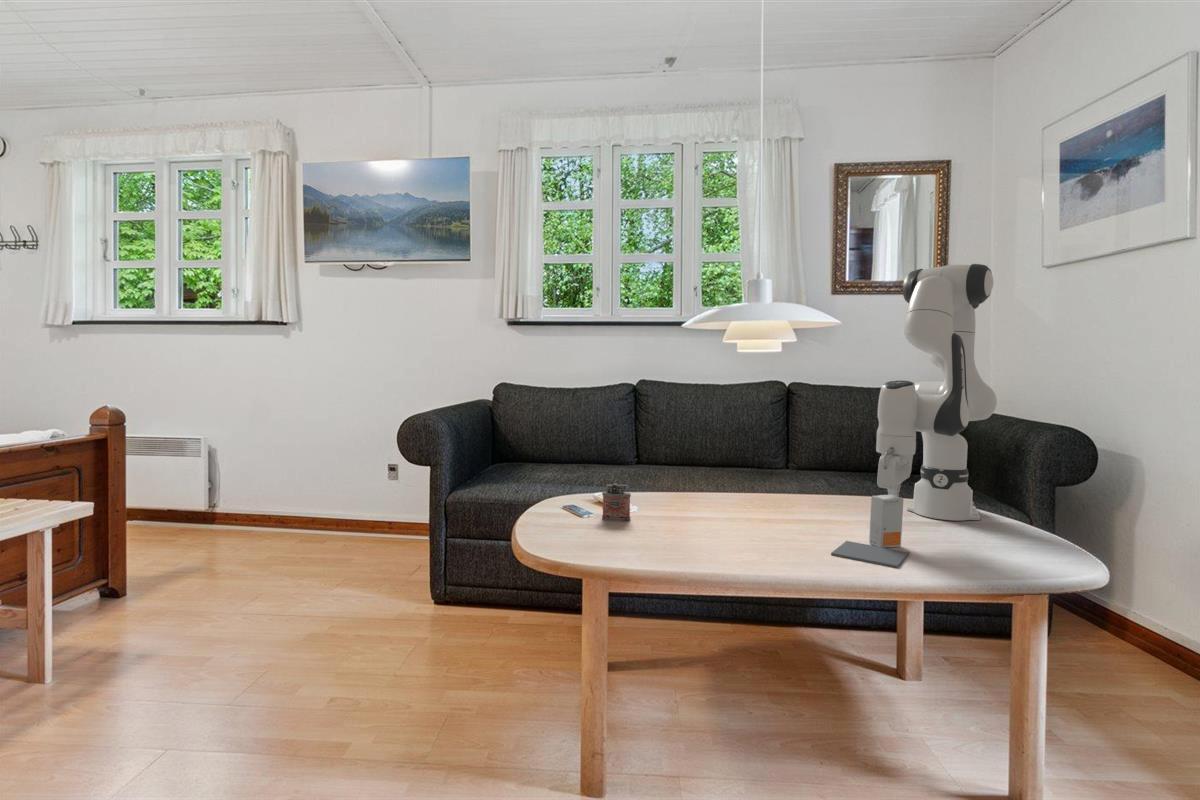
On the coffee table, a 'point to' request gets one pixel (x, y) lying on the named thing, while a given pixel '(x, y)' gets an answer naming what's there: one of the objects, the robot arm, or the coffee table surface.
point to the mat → (871, 554)
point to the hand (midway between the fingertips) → (893, 500)
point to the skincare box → (886, 521)
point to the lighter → (616, 503)
